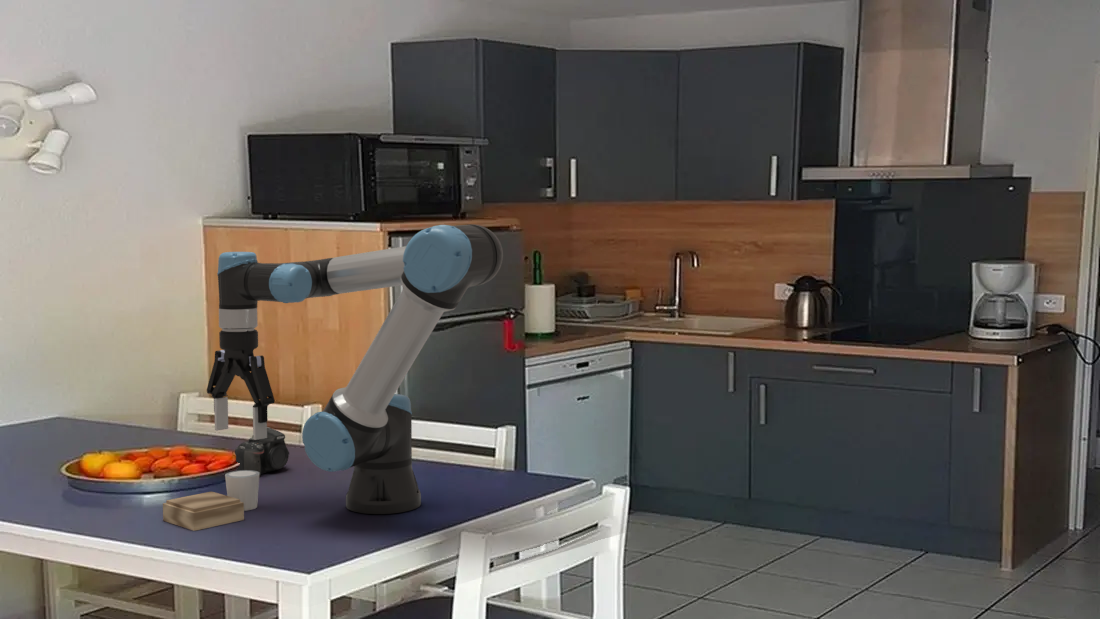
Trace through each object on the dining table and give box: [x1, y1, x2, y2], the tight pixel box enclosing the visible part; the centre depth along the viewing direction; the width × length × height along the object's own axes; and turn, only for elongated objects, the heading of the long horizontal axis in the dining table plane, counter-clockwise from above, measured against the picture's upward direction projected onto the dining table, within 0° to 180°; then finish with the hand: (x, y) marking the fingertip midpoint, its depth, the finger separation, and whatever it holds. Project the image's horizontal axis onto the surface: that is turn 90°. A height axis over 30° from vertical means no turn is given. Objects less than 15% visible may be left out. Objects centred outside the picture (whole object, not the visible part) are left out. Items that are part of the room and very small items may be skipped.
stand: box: [162, 491, 245, 532], centre depth 247 cm, size 11×11×4 cm
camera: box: [234, 426, 290, 478], centre depth 289 cm, size 13×10×10 cm
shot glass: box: [224, 470, 260, 512], centre depth 256 cm, size 7×7×7 cm
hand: (240, 434), depth 256 cm, fingers open, 13 cm apart
